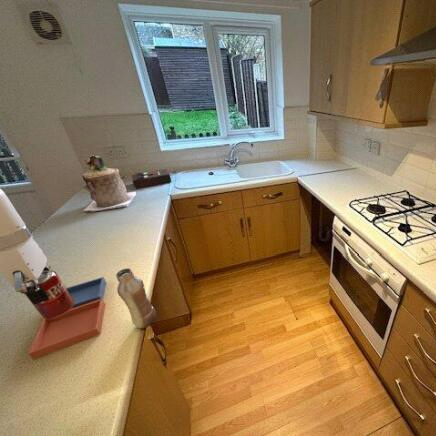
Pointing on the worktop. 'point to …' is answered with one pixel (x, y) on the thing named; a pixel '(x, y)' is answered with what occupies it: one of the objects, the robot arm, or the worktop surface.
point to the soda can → (52, 295)
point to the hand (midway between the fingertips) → (46, 291)
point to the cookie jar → (105, 186)
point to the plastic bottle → (135, 298)
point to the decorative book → (151, 179)
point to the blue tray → (87, 292)
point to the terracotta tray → (68, 329)
